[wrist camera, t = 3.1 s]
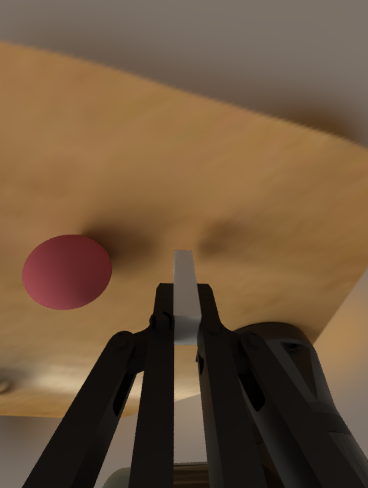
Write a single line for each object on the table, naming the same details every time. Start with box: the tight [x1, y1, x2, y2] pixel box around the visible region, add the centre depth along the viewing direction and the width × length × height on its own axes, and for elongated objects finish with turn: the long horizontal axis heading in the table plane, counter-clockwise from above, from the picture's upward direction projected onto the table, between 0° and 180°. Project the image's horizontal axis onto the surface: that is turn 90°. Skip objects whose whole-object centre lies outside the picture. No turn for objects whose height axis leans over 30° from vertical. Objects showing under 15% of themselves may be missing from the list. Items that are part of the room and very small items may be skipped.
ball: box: [22, 235, 112, 310], centre depth 14 cm, size 6×6×6 cm
